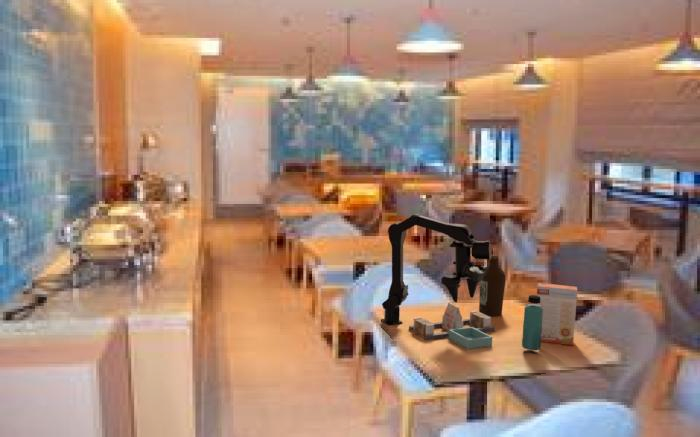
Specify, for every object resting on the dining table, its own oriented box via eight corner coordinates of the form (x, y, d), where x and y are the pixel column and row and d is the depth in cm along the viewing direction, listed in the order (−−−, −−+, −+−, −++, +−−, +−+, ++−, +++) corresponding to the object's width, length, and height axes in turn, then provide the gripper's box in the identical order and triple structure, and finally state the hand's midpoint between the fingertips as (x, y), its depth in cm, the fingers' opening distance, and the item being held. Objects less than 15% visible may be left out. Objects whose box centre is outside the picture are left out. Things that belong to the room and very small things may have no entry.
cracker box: (573, 341, 235) (577, 286, 232) (573, 346, 229) (578, 289, 226) (533, 335, 240) (538, 281, 237) (532, 340, 234) (537, 285, 231)
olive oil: (496, 309, 274) (500, 252, 270) (507, 316, 263) (512, 257, 260) (473, 310, 271) (477, 252, 268) (484, 317, 261) (488, 257, 257)
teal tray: (448, 339, 232) (448, 329, 232) (471, 335, 237) (471, 326, 236) (468, 349, 221) (468, 340, 221) (491, 346, 226) (492, 337, 225)
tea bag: (451, 327, 246) (452, 302, 245) (461, 332, 240) (462, 307, 239) (443, 328, 245) (444, 303, 243) (452, 333, 239) (454, 308, 237)
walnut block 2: (470, 325, 250) (471, 313, 249) (479, 324, 252) (479, 312, 251) (480, 330, 244) (481, 317, 244) (488, 328, 246) (489, 316, 246)
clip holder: (408, 329, 241) (409, 317, 241) (475, 321, 255) (475, 309, 254) (426, 340, 230) (427, 326, 229) (495, 331, 243) (495, 318, 243)
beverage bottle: (541, 355, 218) (545, 299, 216) (521, 353, 220) (525, 297, 217) (539, 349, 225) (544, 294, 222) (520, 347, 226) (524, 292, 223)
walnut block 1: (414, 332, 239) (415, 319, 238) (423, 331, 240) (424, 318, 240) (422, 337, 233) (423, 324, 232) (432, 336, 235) (432, 323, 234)
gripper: (463, 265, 224) (464, 308, 226) (496, 257, 236) (496, 298, 238) (439, 261, 233) (440, 303, 235) (472, 254, 245) (473, 294, 247)
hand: (463, 299), depth 238 cm, fingers open, 9 cm apart
